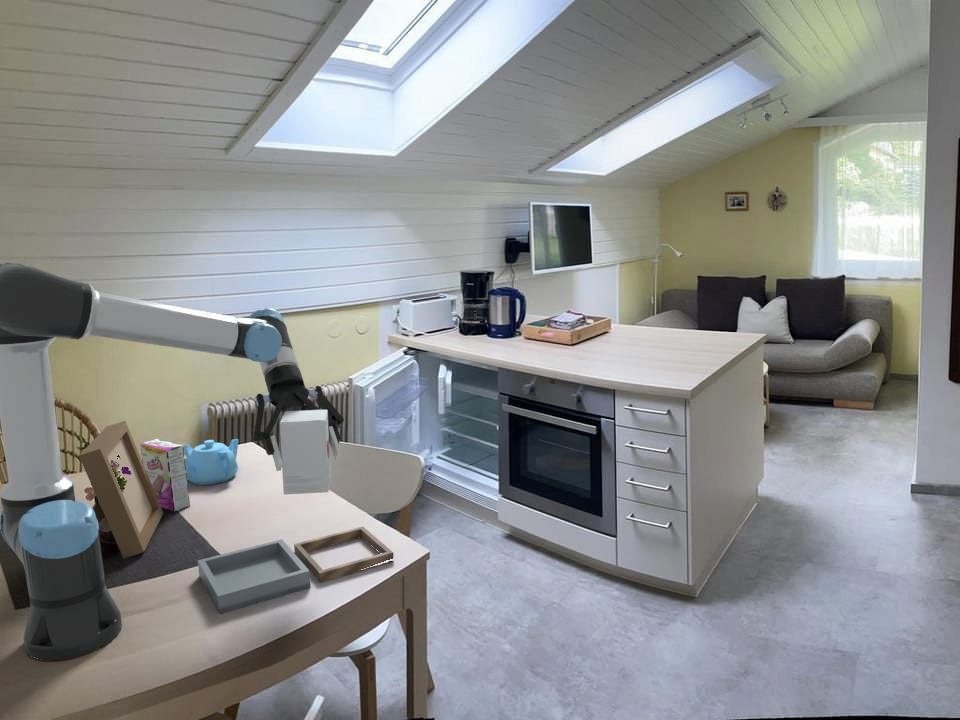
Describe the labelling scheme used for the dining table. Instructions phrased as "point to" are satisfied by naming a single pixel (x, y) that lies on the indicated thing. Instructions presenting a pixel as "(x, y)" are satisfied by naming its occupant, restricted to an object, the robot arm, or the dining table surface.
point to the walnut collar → (342, 569)
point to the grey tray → (252, 575)
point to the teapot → (211, 462)
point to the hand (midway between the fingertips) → (309, 462)
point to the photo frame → (124, 511)
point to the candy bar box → (166, 473)
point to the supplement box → (305, 451)
